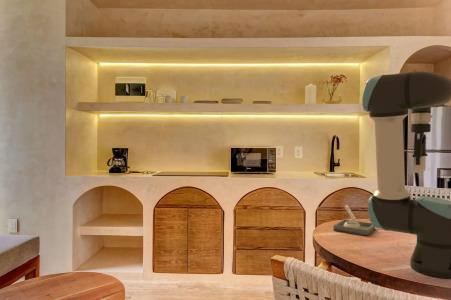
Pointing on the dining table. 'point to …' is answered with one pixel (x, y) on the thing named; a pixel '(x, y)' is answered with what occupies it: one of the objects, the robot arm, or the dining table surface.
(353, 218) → the white vr controller
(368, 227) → the tray
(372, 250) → the dining table surface
